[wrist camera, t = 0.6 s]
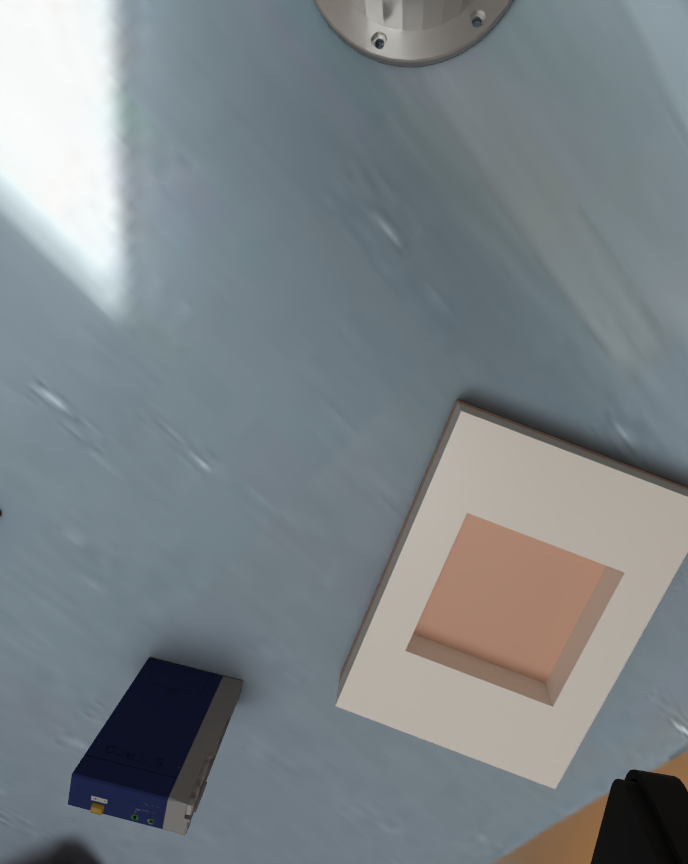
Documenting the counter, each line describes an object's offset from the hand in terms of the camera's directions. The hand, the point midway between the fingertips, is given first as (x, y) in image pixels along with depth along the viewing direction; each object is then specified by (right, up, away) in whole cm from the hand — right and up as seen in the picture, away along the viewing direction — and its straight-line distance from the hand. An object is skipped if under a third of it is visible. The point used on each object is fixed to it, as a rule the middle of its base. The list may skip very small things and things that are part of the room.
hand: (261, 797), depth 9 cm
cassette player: (-10, -14, +40) cm, 44 cm away
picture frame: (+12, -6, +36) cm, 38 cm away
